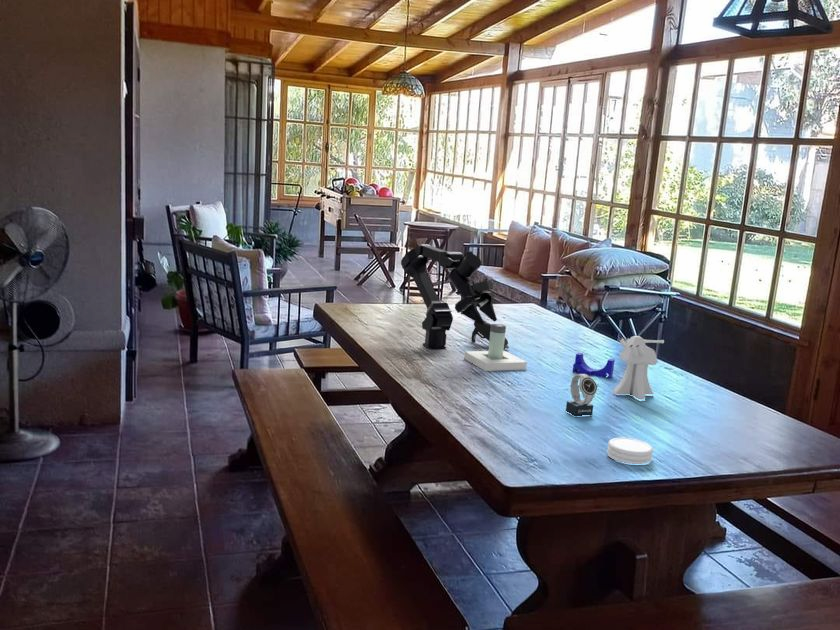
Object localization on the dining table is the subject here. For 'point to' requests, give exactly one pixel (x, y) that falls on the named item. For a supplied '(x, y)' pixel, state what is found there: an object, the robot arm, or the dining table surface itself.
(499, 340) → the capped bottle
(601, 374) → the blue cradle stand
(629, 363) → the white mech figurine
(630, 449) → the coaster
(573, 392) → the watch
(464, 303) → the robot arm
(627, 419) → the dining table surface
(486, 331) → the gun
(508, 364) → the housing
